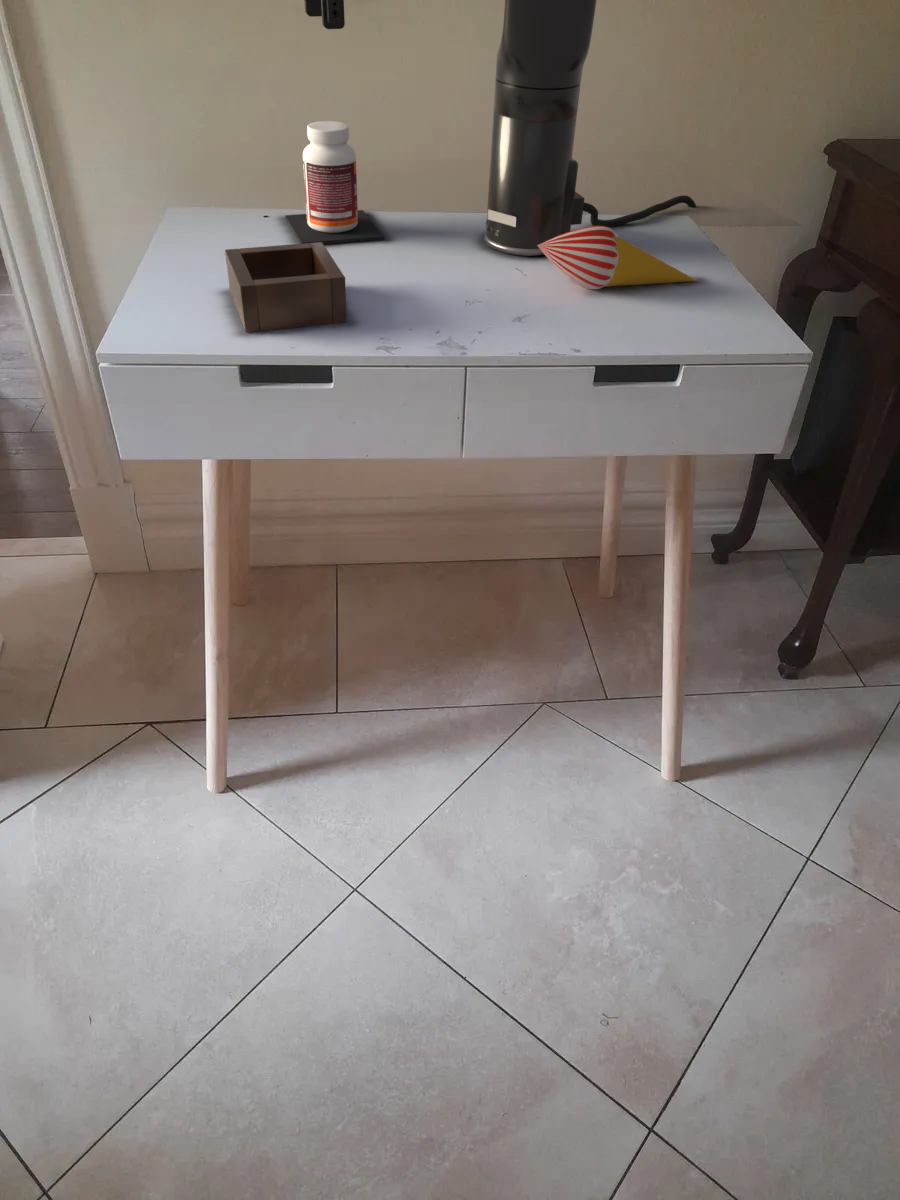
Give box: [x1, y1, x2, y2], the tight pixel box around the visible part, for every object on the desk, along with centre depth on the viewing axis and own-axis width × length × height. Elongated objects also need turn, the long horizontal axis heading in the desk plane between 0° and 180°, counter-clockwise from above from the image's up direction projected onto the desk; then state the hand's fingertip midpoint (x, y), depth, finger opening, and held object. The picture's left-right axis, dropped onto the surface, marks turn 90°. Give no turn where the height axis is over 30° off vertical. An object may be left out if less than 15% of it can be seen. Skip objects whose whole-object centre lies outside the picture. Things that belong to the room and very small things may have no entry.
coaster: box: [284, 209, 385, 245], centre depth 108 cm, size 10×10×1 cm
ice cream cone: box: [537, 225, 698, 290], centre depth 96 cm, size 6×6×20 cm
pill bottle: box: [302, 120, 359, 233], centre depth 104 cm, size 6×6×11 cm
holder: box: [224, 242, 348, 333], centre depth 89 cm, size 10×10×4 cm
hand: (324, 22), depth 94 cm, fingers open, 8 cm apart
